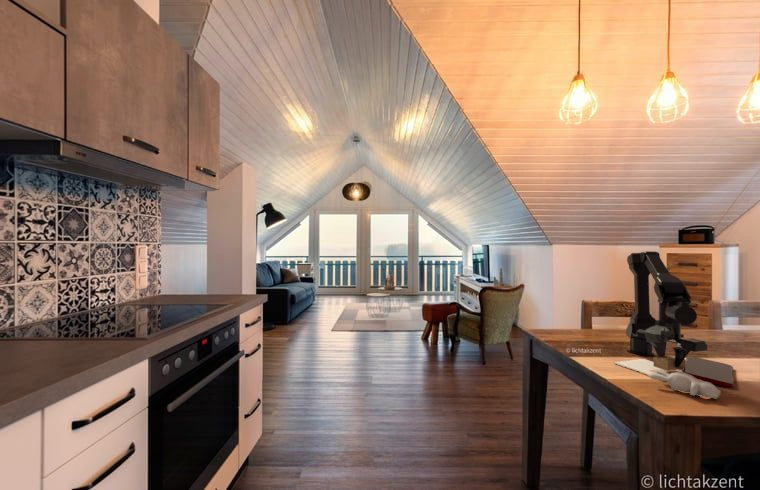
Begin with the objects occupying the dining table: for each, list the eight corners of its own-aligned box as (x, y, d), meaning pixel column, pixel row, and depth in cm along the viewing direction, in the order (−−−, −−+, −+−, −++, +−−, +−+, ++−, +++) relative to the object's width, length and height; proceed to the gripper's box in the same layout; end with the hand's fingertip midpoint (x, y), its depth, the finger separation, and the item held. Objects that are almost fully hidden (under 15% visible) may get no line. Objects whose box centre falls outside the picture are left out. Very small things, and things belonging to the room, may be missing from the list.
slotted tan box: (671, 363, 123) (671, 354, 123) (685, 368, 118) (685, 359, 118) (653, 366, 120) (653, 357, 120) (667, 370, 116) (667, 361, 116)
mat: (614, 364, 130) (614, 362, 130) (643, 360, 133) (643, 358, 133) (663, 381, 113) (663, 379, 113) (694, 376, 117) (694, 374, 117)
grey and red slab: (733, 364, 125) (734, 384, 107) (732, 369, 125) (733, 389, 107) (687, 354, 133) (680, 371, 115) (686, 358, 133) (680, 375, 115)
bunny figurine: (715, 390, 97) (649, 368, 109) (712, 408, 97) (647, 384, 109) (724, 382, 102) (660, 362, 114) (721, 399, 103) (657, 377, 115)
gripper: (624, 314, 126) (624, 358, 126) (682, 325, 108) (682, 377, 108) (648, 312, 129) (648, 355, 129) (708, 323, 111) (708, 373, 111)
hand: (669, 364), depth 119 cm, fingers closed on slotted tan box, 4 cm apart
